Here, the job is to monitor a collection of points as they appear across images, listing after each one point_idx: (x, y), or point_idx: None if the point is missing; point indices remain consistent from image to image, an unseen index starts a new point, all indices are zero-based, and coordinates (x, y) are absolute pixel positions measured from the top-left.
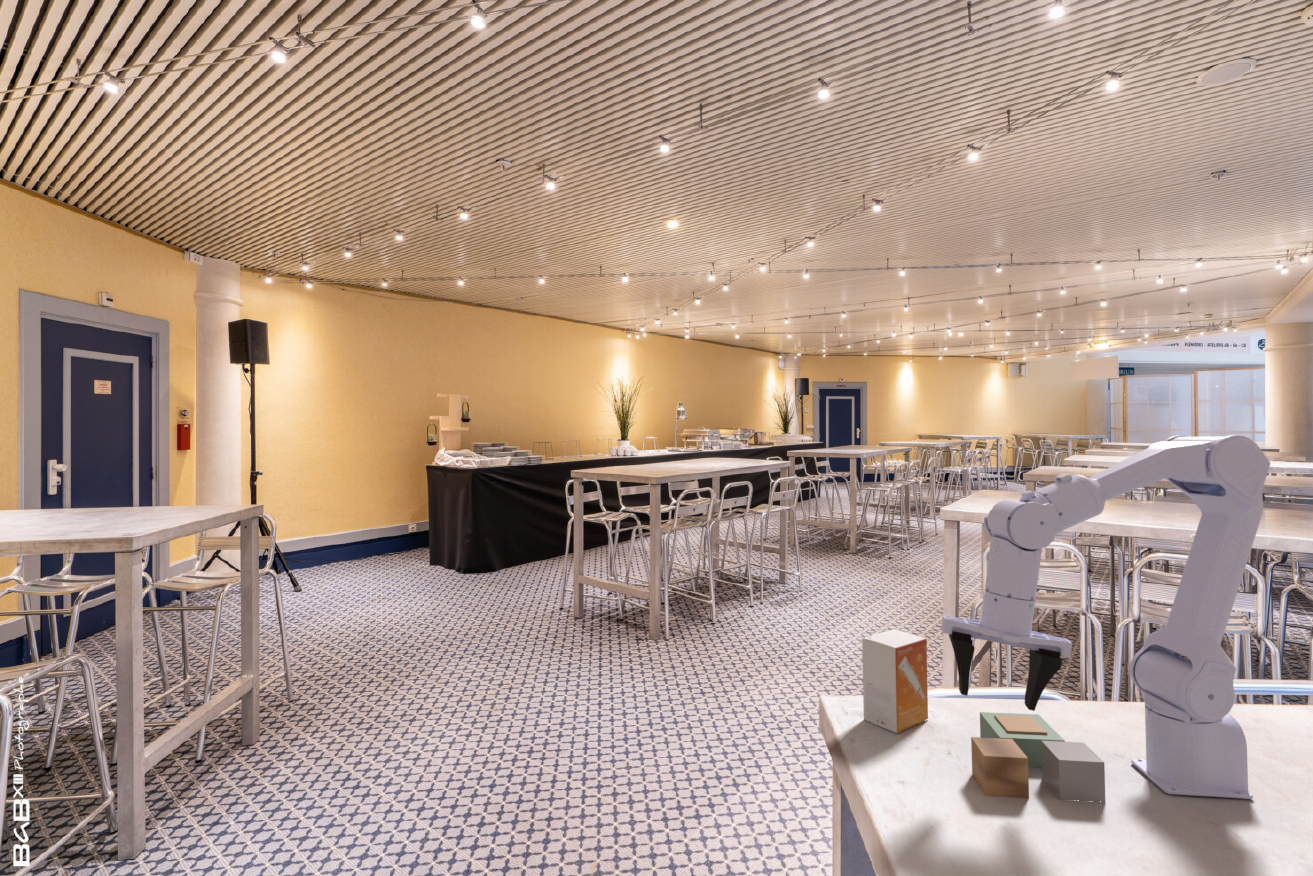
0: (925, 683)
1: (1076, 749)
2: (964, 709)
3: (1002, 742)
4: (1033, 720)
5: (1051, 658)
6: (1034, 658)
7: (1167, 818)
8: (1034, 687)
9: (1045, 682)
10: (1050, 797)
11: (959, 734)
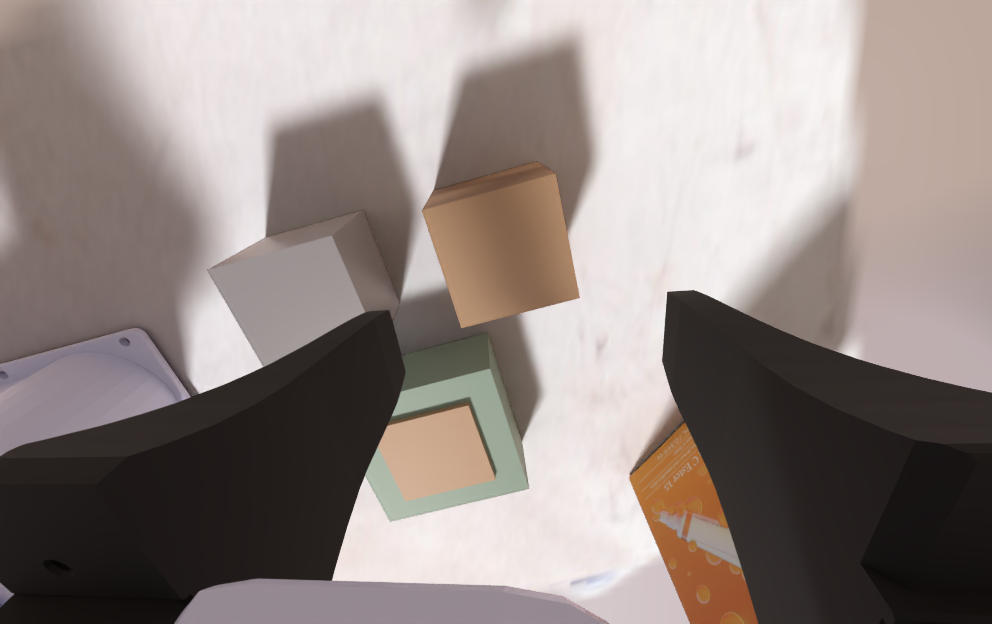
0: (670, 555)
1: (286, 327)
2: (543, 546)
3: (490, 295)
4: (401, 482)
5: (28, 527)
6: (260, 569)
7: (134, 217)
8: (325, 358)
9: (243, 381)
10: (384, 216)
11: (566, 439)
